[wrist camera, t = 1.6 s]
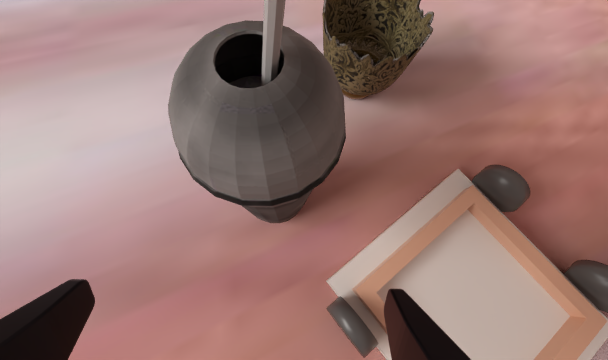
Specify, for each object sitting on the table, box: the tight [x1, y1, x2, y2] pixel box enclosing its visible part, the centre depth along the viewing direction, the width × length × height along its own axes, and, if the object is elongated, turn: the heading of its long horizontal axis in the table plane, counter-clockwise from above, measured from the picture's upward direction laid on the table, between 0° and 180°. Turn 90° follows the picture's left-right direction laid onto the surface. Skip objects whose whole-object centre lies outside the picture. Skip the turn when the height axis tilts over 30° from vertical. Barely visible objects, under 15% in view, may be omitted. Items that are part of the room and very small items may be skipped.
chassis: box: [326, 165, 608, 360], centre depth 20 cm, size 15×16×4 cm
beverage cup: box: [168, 0, 346, 223], centre depth 14 cm, size 7×7×20 cm
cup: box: [323, 0, 434, 99], centre depth 23 cm, size 8×7×8 cm
